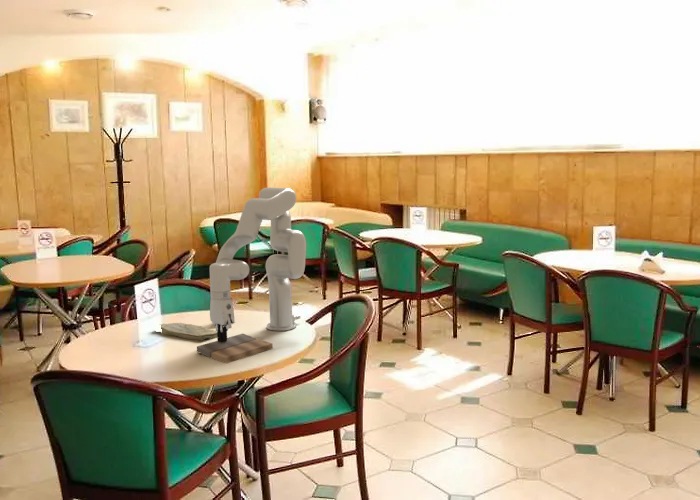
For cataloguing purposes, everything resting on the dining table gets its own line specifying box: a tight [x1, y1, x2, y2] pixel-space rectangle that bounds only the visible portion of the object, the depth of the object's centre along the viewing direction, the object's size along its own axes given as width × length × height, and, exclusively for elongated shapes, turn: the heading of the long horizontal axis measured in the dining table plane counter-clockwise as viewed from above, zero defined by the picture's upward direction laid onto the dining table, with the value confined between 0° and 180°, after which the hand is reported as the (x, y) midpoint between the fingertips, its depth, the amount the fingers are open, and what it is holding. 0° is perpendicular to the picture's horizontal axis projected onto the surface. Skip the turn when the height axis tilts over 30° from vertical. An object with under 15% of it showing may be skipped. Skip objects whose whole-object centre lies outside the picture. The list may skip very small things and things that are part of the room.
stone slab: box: [160, 322, 218, 341], centre depth 270 cm, size 12×4×30 cm
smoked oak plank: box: [196, 333, 257, 358], centre depth 250 cm, size 22×9×2 cm, turn 138°
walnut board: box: [210, 338, 274, 364], centre depth 244 cm, size 22×9×2 cm, turn 138°
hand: (222, 341), depth 251 cm, fingers closed
